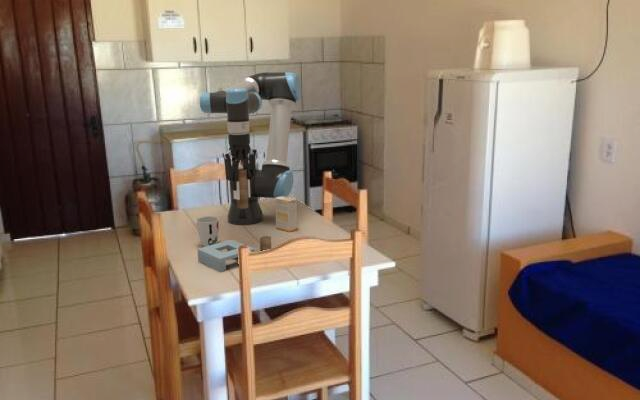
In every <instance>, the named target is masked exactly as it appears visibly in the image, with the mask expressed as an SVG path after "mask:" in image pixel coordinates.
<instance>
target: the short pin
mask: <svg viewBox="0 0 640 400" xmlns="http://www.w3.org/2000/svg"><path fill="white" fill-rule="evenodd" d="M267 249H271V250H272V237H271V236H268V235H262V236H261V237H259V252H260V251H263V250H267Z"/></svg>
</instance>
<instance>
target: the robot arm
mask: <svg viewBox="0 0 640 400" xmlns="http://www.w3.org/2000/svg"><path fill="white" fill-rule="evenodd" d="M301 97H302V85H301V81H300V77H299V75H298V74H297V73H296V72H288V71H284V72H283V71H281V72H280V71H279V72H278V71H276V72H258V73H255V74H252V75H249V76H247V77H243V78H242V79H241V80H239V82H238V83H235V84H233V85H230V86H228V87H226V88H223V89H220V90H217V91H215V92H204V93H202V94H201V95H200V96H199V107H200V110H201V111H202V113H204V114H226V115H227V133H229V134H228V146H229V147H228V151H227V152H223V153H222V155H221V156H222V158H223V160H224V162H223V163H224V169H225V170H224V171H225V179H226V180H227V181H229V192H230V194H229V196H230V206H229V210H228V213H227V222H228V223H230V224H233V225H241V226H242V225H252V224H253V225H254V224H257V223H260V222H262V221H263V220H264V213H263V211H262V208H261V205H260V202H259V198H266V199H267V198H268V199H269V198H270V199H275V198H277V197H280V196H286V197H289V196H290V194H291V192H292V189H293V185H294V173H293V172H292V171H291V170H290V169H291V167H290V166H289V164H287V162H288V161H287V160H288V150H289V142H290V133H291V132H290V130H291V120H292V110H293V108H294V107H296V104H297V102H298V101H300V100H301V99H302V98H301ZM265 100H266V101H268V104H269V105H270V106H271V107H270V108H271V109H270V119H269V129H268V138H267V139H268V140H267V148H266V159H265V162H264V163H262V165H261V169H258V167H257V163H256V160H257V159H256V155H257V151H258V150H257V149H253V148H251V145H250V143H251V135H250V115H251V114H254V113H256V112H258V111H259V110H260V109H261V108H262V105H263V101H265ZM240 162H241V164H242V166H240ZM238 169H247V190H248V208H246V209H238V208H237V200H240V191H239V182H238V181H237V176H238Z"/></svg>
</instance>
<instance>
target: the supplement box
mask: <svg viewBox="0 0 640 400" xmlns="http://www.w3.org/2000/svg"><path fill="white" fill-rule="evenodd" d="M297 201H298V200H297V198H295V197H290V196H287V197H286V196H280V197H277V198H274V205H275V225H276V227H275V228H276V229H278V230H280V231H281V230H282V231H285V232H288V233H292V232H294V231H298V228H299V227H298V206H297V203H298V202H297Z"/></svg>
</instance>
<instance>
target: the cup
mask: <svg viewBox="0 0 640 400" xmlns="http://www.w3.org/2000/svg"><path fill="white" fill-rule="evenodd" d="M195 221H196V227H197V234H198V237H199V241H200V243H201V246H202V247H206V246H210V245H213V244H217V243H218V239H219V231H220V229H219V228H220V227H219V226H220V225H219V217H217V216H203V217H199V218H196V220H195Z"/></svg>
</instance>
